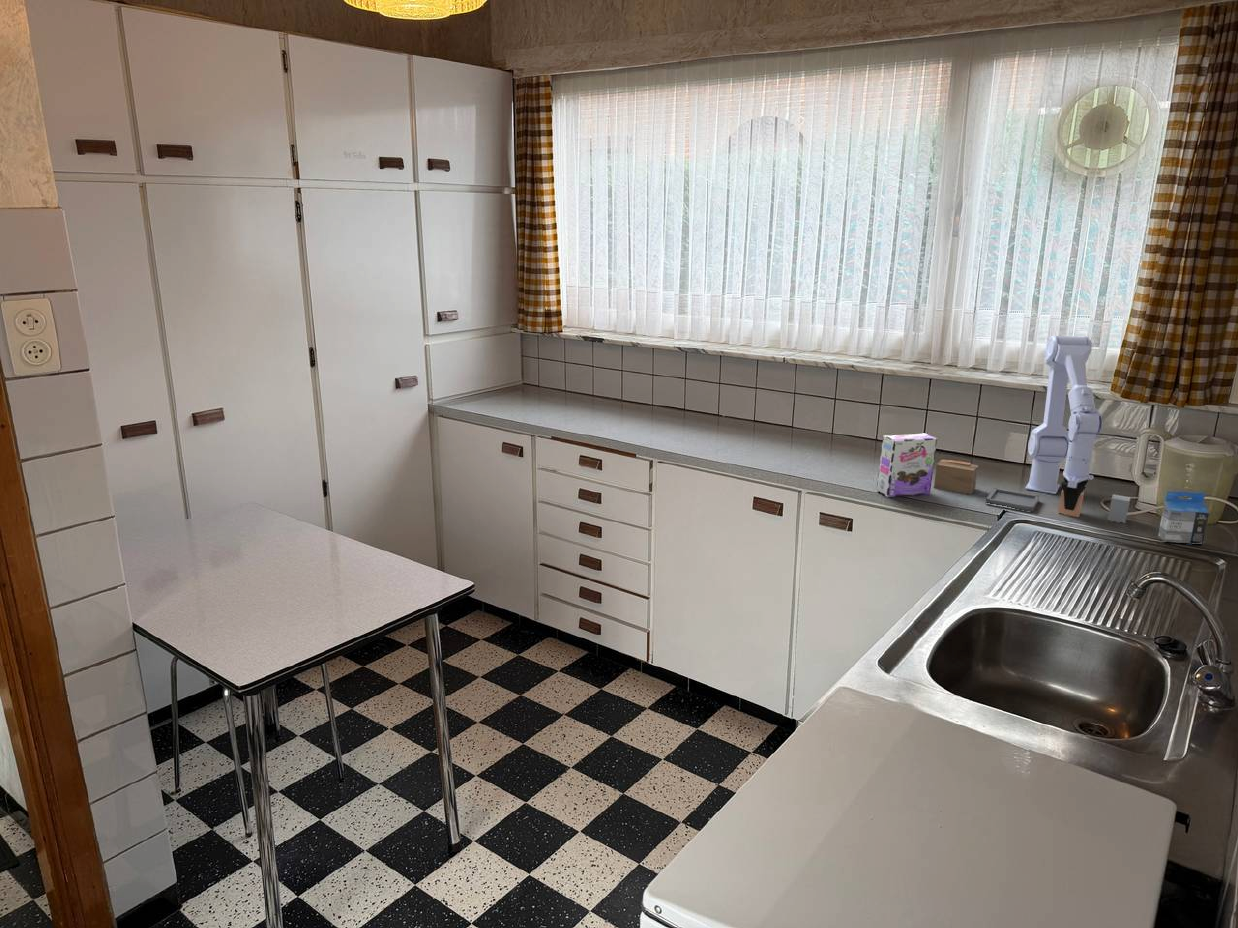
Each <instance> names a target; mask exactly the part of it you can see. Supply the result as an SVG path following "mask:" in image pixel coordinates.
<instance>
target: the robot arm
mask: <svg viewBox="0 0 1238 928" xmlns="http://www.w3.org/2000/svg"><path fill="white" fill-rule="evenodd" d="M1092 350H1093V349H1092V341H1091V339H1090V337H1089V336H1064V335H1063V336H1062V335H1055V334H1054V335H1051V336H1050V337H1049V339H1048V341H1047V342H1046V346H1045V354H1044V364H1046V365H1047V366H1049V374H1048V380H1047V382H1048V383H1047V390H1046V398H1045V406H1044V407H1045V408H1044V414H1043V422H1042V423H1041V424H1039V425H1038V426H1037V427H1035V428H1033V429H1032V430H1031V432H1030V438H1029V440H1028V444H1027V450H1028V451H1027V452H1028V454H1029V455H1030V457H1032V463H1031V469H1030V475H1029V481H1028V483H1027V484H1026V486H1025V487H1024V489H1025V490H1031V491H1035V492H1041V493H1047V494H1053V495H1056V494H1057V493H1058V490H1059V489H1060V486H1061V489H1062V490H1063V493H1064V507H1065V509H1067V510H1074V508H1075V506H1076V504H1077V501H1078V498H1079V496H1080V494H1081V493H1082V492H1083V491H1084V490H1085V489H1086V485H1087V484H1088V482H1089V480H1094V475H1092V474H1090V471H1091V470H1090V469H1091V465H1092V464H1091V463H1092V457H1093V452H1094V446H1095V443H1096V442H1095V441H1096V436H1097V435H1099V434H1101V432H1102V428H1103V416H1102V412H1101V413H1100V411H1099V409H1098V408H1096V404H1095V397H1094V392H1093V389H1092V388H1091V387H1089V386H1088V384H1087V382H1088V380H1087V366H1086V364H1087V361H1088V360H1089V358H1090V356H1091V353H1092ZM1068 383H1069V384H1070V387H1071V389H1070V390H1069V391H1068V393H1067V389H1068ZM1067 396H1068V403H1069V410H1070V415H1069V420H1068V430H1067V428H1065V427H1064V426H1063V425H1064V414H1065V408H1066V407H1065V406H1066V398H1067ZM1064 460H1065V464H1064V470H1063V472H1062V476H1063V480H1064V481H1061V483H1058V480H1059V475H1060V469H1061V463H1062V462H1064Z"/></svg>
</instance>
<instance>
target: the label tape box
mask: <svg viewBox="0 0 1238 928" xmlns="http://www.w3.org/2000/svg"><path fill="white" fill-rule="evenodd" d="M1206 495H1207V494H1206V492H1198V491H1197V492H1195V491H1179V490H1178V491H1177V490H1176V491H1175V490H1167V492H1166V495H1165V499H1164V502H1163V507H1162V513H1161V519H1160V523H1159V529H1158V534H1157V537H1158V536H1160V537H1161V538H1163V539H1165V540H1173V541H1180V542H1188V543H1202V542H1203V543H1204V542H1205V536H1206V531H1207V529H1208V526H1207V525H1208V522H1209V517H1210V512H1209V510H1208V508H1207V507H1206V504H1205V503H1204V501H1205V497H1206ZM1185 496H1186V497H1187V498H1181V497H1185ZM1188 497H1189V498H1188Z"/></svg>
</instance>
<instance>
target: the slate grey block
mask: <svg viewBox="0 0 1238 928" xmlns="http://www.w3.org/2000/svg"><path fill="white" fill-rule="evenodd" d="M1130 501H1131V497H1130V496H1126V495H1125V496H1124V495H1119V494H1112V497H1111V500H1110V506H1109V511H1108V516H1107V521H1109V520H1110V521H1109V522H1114V521H1116V522H1115V523H1120V522H1123V523H1122V524H1126V521H1127V518H1128V510H1129V506H1130Z"/></svg>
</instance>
